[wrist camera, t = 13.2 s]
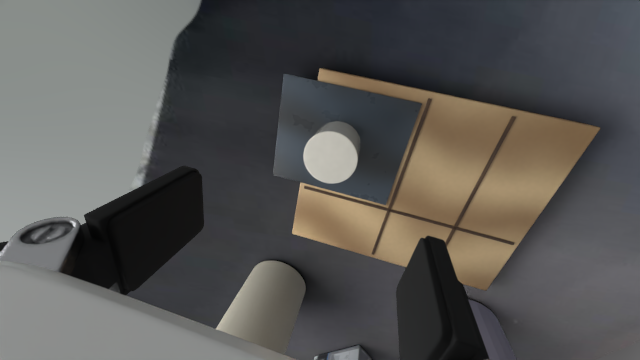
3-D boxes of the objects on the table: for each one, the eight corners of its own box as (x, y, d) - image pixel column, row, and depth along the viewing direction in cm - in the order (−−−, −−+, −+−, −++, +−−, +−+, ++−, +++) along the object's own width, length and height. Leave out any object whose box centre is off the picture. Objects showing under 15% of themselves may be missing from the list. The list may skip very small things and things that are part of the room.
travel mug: (266, 248, 33) (157, 421, 17) (316, 279, 33) (258, 478, 17) (245, 282, 36) (139, 450, 20) (290, 309, 37) (222, 496, 21)
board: (291, 61, 23) (285, 61, 21) (586, 123, 20) (604, 128, 18) (272, 219, 31) (267, 227, 29) (481, 280, 28) (487, 292, 26)
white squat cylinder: (319, 116, 22) (307, 125, 19) (366, 127, 22) (364, 138, 18) (311, 160, 24) (299, 176, 21) (354, 171, 24) (350, 189, 20)
